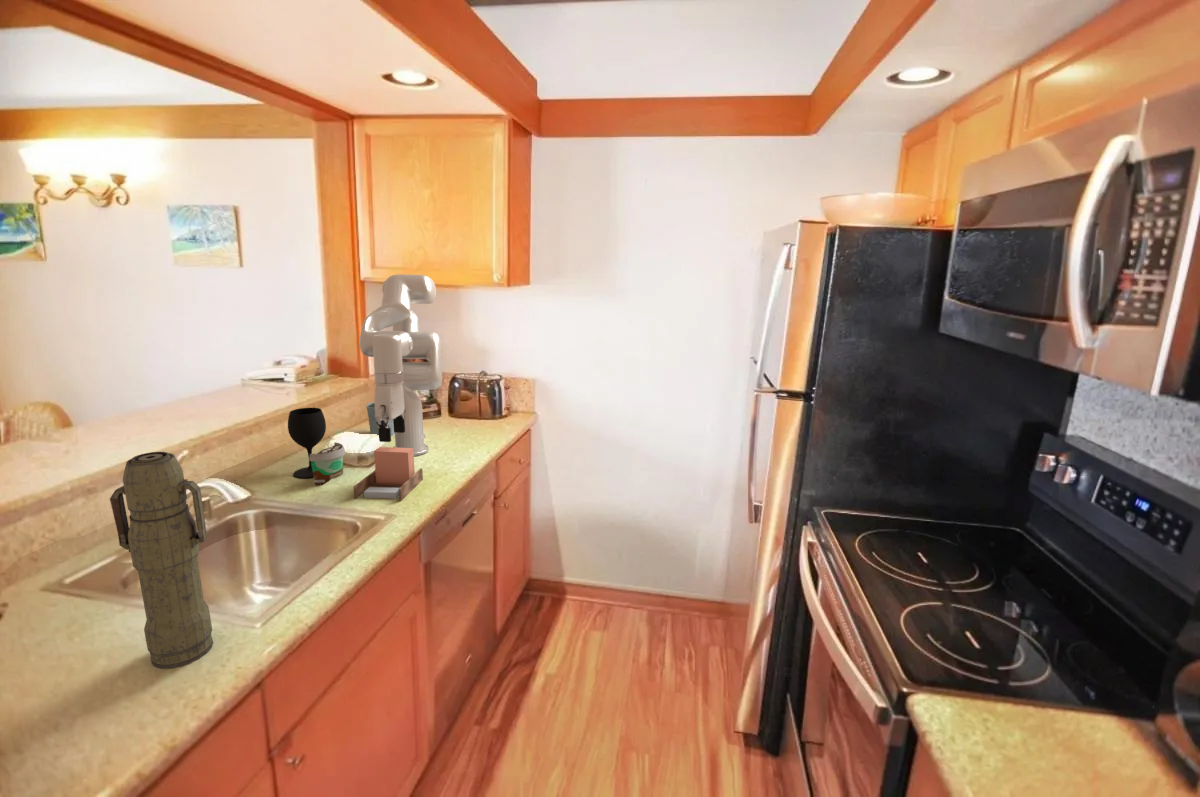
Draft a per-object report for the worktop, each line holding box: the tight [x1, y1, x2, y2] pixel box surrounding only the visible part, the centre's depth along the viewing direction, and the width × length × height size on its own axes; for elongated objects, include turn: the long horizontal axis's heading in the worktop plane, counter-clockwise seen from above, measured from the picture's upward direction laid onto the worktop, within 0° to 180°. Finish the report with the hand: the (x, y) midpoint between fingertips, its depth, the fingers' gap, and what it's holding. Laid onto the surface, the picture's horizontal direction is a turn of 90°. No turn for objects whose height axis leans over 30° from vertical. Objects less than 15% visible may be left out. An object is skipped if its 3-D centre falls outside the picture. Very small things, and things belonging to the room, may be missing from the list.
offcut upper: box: [363, 487, 399, 500], centre depth 160 cm, size 4×9×2 cm, turn 89°
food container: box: [308, 442, 346, 486], centre depth 173 cm, size 12×6×10 cm, turn 168°
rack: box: [353, 468, 424, 502], centre depth 165 cm, size 16×13×5 cm
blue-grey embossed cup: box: [366, 401, 395, 436], centre depth 219 cm, size 10×10×12 cm
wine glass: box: [287, 407, 327, 480], centre depth 178 cm, size 10×10×20 cm
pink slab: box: [373, 446, 416, 484], centre depth 168 cm, size 4×10×12 cm, turn 86°
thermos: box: [109, 451, 214, 670], centre depth 94 cm, size 9×12×35 cm
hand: (392, 436), depth 165 cm, fingers open, 9 cm apart
